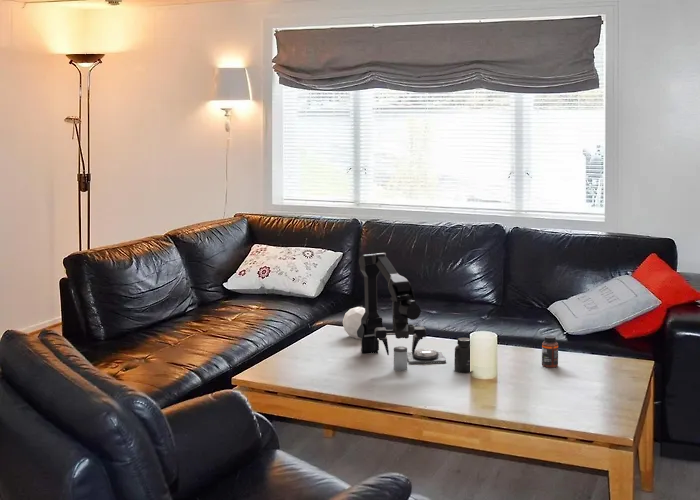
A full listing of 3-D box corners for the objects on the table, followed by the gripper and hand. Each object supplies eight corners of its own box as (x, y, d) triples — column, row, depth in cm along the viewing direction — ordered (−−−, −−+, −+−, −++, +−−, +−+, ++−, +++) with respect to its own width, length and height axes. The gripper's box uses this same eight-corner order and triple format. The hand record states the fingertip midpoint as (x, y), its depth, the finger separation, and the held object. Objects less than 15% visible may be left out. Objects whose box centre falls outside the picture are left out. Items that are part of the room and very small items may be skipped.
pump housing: (394, 371, 303) (394, 350, 302) (393, 367, 308) (393, 346, 307) (408, 370, 303) (407, 350, 302) (406, 366, 308) (406, 346, 307)
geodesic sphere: (345, 317, 361) (342, 297, 351) (376, 318, 359) (374, 298, 349) (342, 344, 351) (339, 324, 342) (374, 344, 350) (371, 324, 340)
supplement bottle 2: (558, 364, 309) (559, 335, 307) (557, 368, 303) (558, 339, 301) (542, 362, 311) (543, 333, 309) (540, 367, 305) (541, 338, 303)
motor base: (409, 363, 312) (409, 356, 311) (405, 354, 324) (405, 347, 323) (445, 362, 312) (446, 355, 312) (441, 354, 324) (441, 346, 324)
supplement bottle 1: (472, 373, 299) (472, 342, 297) (453, 373, 300) (453, 341, 298) (473, 368, 305) (473, 337, 303) (455, 367, 307) (455, 336, 305)
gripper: (376, 319, 294) (377, 361, 297) (428, 318, 295) (428, 360, 297) (374, 312, 305) (374, 353, 308) (424, 311, 306) (424, 351, 308)
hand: (400, 354), depth 305 cm, fingers open, 9 cm apart
